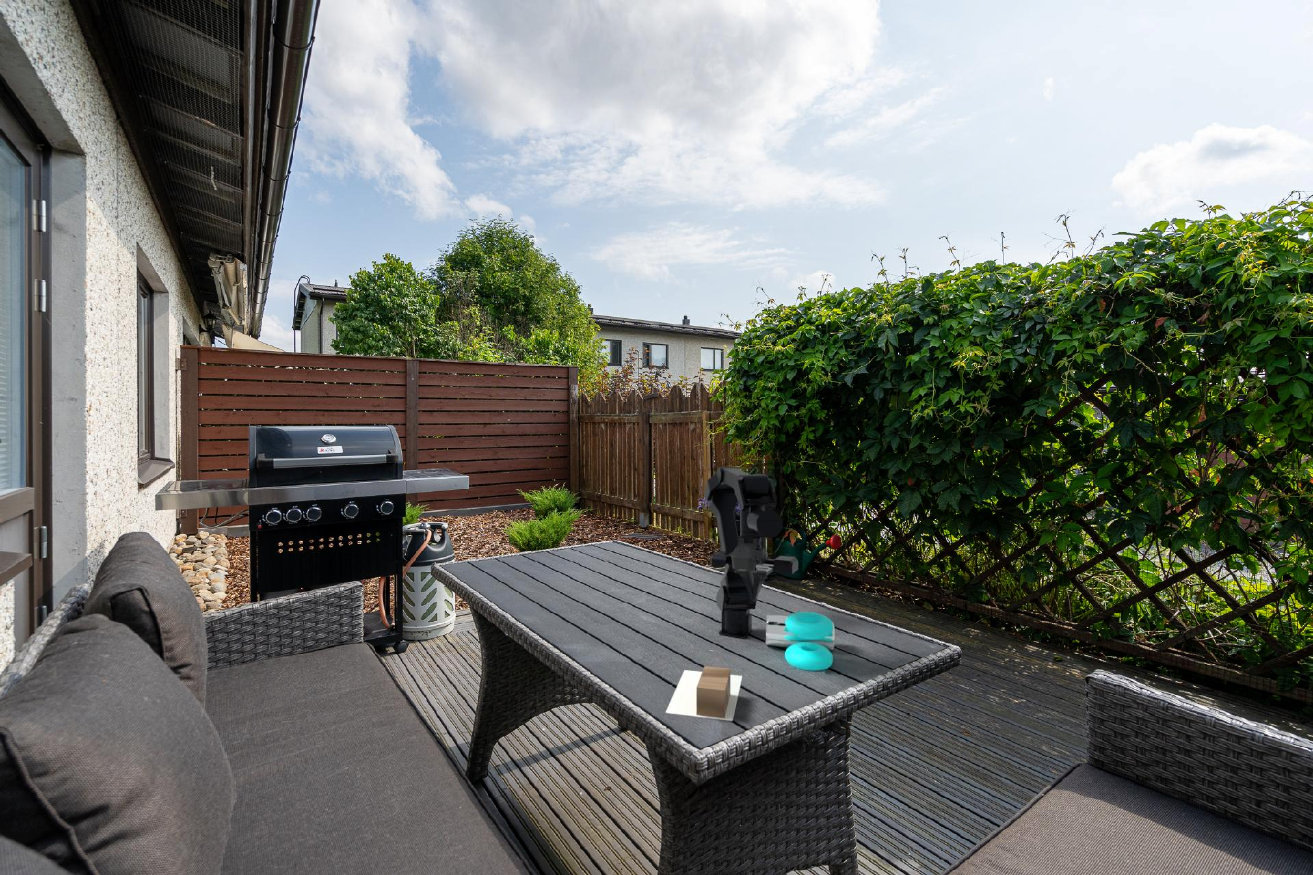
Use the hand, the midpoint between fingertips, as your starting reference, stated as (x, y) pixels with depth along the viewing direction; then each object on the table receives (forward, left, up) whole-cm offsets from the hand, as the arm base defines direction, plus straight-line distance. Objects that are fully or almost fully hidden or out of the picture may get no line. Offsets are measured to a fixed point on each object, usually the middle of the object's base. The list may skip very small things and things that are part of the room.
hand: (753, 600), depth 134 cm
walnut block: (0, -22, -9) cm, 24 cm away
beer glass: (+16, +11, -9) cm, 21 cm away
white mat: (-2, -23, -12) cm, 26 cm away
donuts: (+12, 0, -12) cm, 17 cm away
